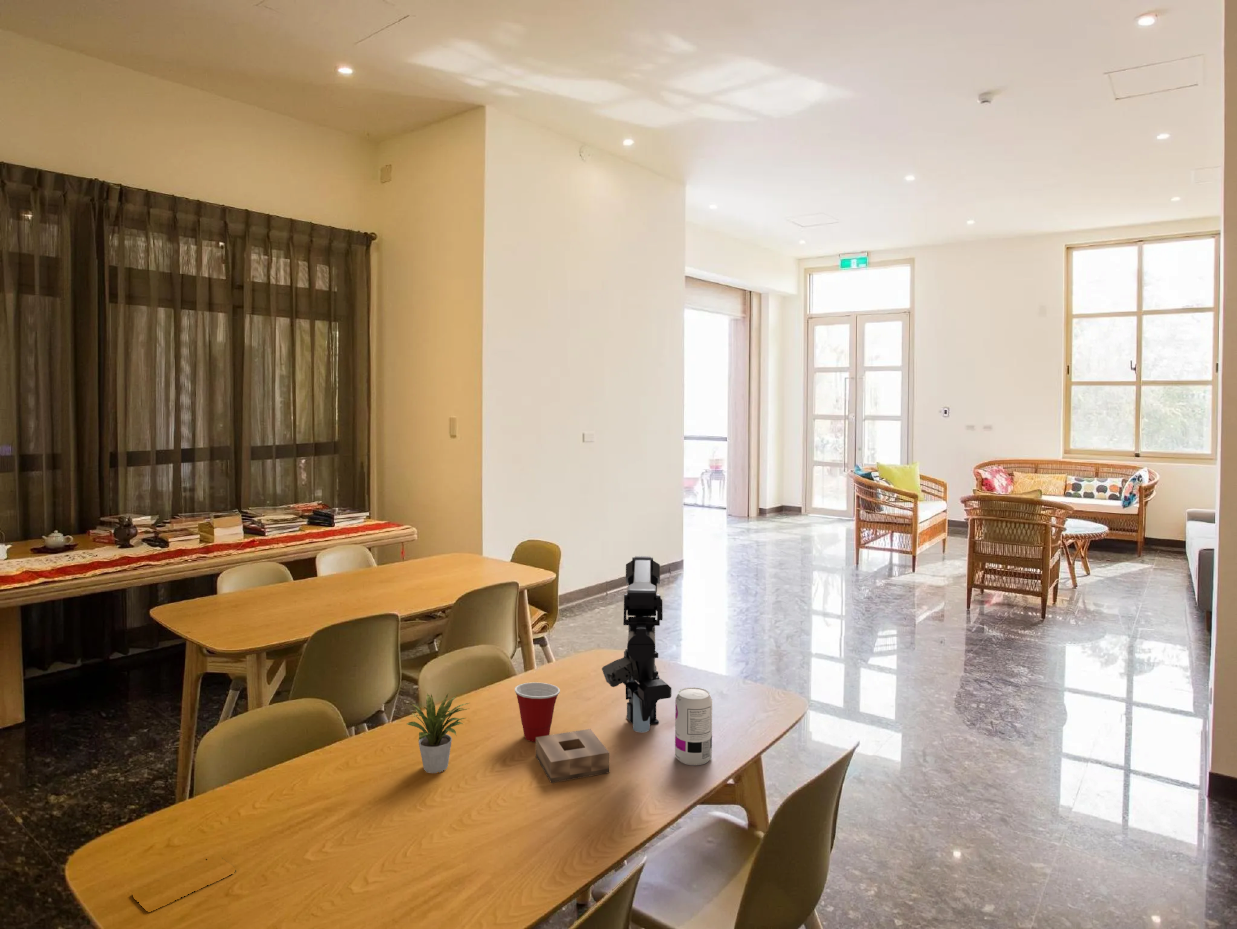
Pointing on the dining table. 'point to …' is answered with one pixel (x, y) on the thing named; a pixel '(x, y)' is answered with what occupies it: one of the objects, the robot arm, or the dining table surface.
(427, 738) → the house plant
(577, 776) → the bore block
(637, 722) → the pin
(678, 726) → the supplement can
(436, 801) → the dining table surface
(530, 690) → the plastic cup
